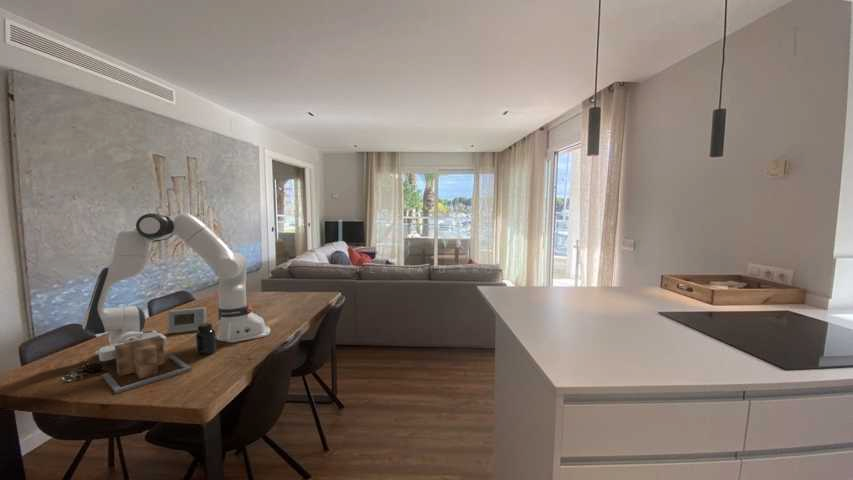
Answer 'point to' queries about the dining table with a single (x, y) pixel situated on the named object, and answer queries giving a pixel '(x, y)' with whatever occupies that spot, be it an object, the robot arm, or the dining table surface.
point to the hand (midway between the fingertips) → (139, 352)
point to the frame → (118, 389)
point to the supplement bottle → (205, 339)
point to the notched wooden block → (140, 357)
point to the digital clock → (185, 320)
